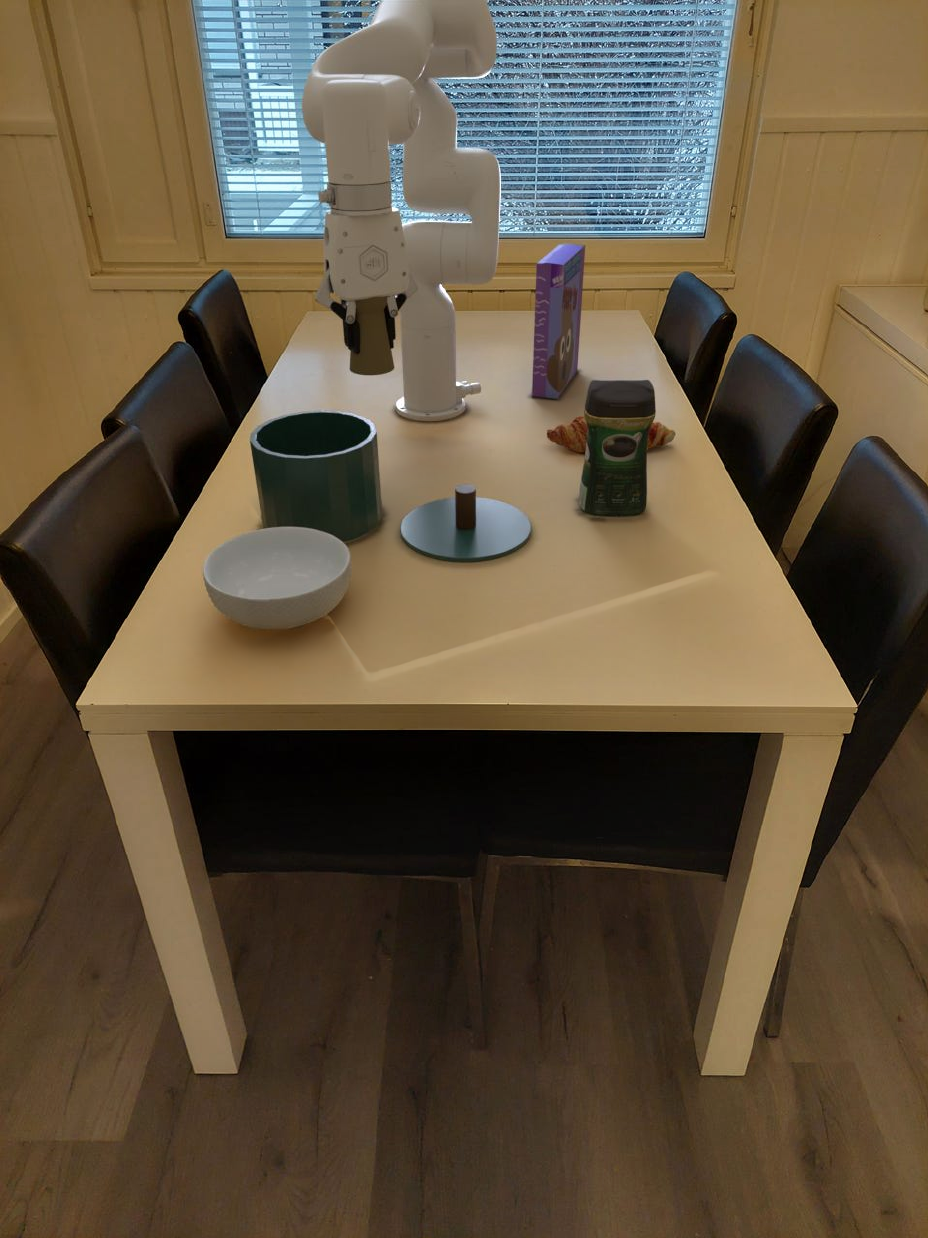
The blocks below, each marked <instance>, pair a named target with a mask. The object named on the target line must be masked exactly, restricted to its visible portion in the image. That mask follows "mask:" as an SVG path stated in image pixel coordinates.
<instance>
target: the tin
mask: <svg viewBox="0 0 928 1238" xmlns="http://www.w3.org/2000/svg"><path fill="white" fill-rule="evenodd" d="M249 443H250V450H251V456H252V463H253V470H254V476H255V484H256V489H257V494H258V497H257V498H258V502H259V509H260V515H261V522H262V526H263V529H265V528H274V527H302V528H310V529H315V530H319V531H322V532H325V533H328V534H331V535H333V536H335V537H336V538H338V539H339V540H341V541H342V542H343V543H344V542H348V541H353V540H355V539H358V538H360V537H361V536H364V535H366V534H369V532H371V531H372V530H374V529H375V528H376V527H377V526H378V525H379V524H380V521H381V520H382V517H383V505H382V489H381V488H382V487H381V475H380V460H379V444H378V432H377V427H376V424H374V423H373V422H372V421H371V420H370V419H368V418H367V417H364V416H362V415H359V414H356V413H353V412H347V411H341V410H323V409H321V410H319V409H318V410H309V411H308V410H307V411H297V412H294V413H287V414H284V415H283V414H282V415H281V416H277V417H273V418H271V419H268V420H266V421H265V422H262V423H261V424H259V425H257V426H256V427H255V428H254V430H252V431H251V433H250V437H249Z"/></svg>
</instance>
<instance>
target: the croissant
mask: <svg viewBox="0 0 928 1238" xmlns="http://www.w3.org/2000/svg"><path fill="white" fill-rule="evenodd" d="M676 435H677V433H676V431H675V430H674V429H670V428H669V427H667V426H666V425H665V424H663V423H662V422H660V421H656V422H653V423H652V425H651V426H650V429H649V433H648V442H647V450H649V449H652V448H654V447H655V446H657V447H658V446H659V447H662V446H664V445H667V444H670V443H671V442H673V441H674V439H675V437H676ZM546 438H547V439H548V440H549V441H550V442H551V443H554V444H556V445H559V446H562V447H564V448H566V449H567V450H570V451H573V452H577V453H586V444H587V423H586V420H585V417H584V415H580V416H576V417H575V418H574V419H573V420H572V421H571V423H569V424H568V423H561V424H559V425H557V426H556V427H554V428H553V429H551V428H549V429H547V430H546Z"/></svg>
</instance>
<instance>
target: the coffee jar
mask: <svg viewBox="0 0 928 1238" xmlns="http://www.w3.org/2000/svg"><path fill="white" fill-rule="evenodd" d="M655 392H656V391H655V387H654V385H653V383H652V382H651V381H650V380H649V379H641V380H639V379H637V380H635V379H634V380H633V379H631V380H626V379H621V380H617V379H616V380H612V379H611V380H602V379H601V380H600V379H599V380H598V379H592V380H590V382H589V384H588V386H587V392H586V397H585V401H584V402H585V403H584V406H583V416H584V417H585V420H586V423H587V444H586V453H585V452H584V453H585V454H584V459H583V466H582V472H581V477H580V484H579V492H578V506H579V508H580V510H581V511H582V512H584V513H585V514H587V515H589V516H594V517H595V516H596V517H609V518H610V517H613V518H617V517H618V518H619V517H620V518H621V517H637V516H639V515H641V514H642V513H644V512H645V510H646V509H647V503H648V502H647V501H648V473H647V472H648V469H647V466H648V465H647V464H648V463H647V462H648V449H647V442H648V433H649V429H650V426H651V425H652V423H654V421H655V418H656V414H657V409H656V394H655Z"/></svg>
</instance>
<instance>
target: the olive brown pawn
mask: <svg viewBox="0 0 928 1238" xmlns="http://www.w3.org/2000/svg"><path fill="white" fill-rule="evenodd" d="M355 305H356V313H355V318H356V322H357V323H359V327H360V353H359V354H355V353H353V351H352V350H351V351H350V350H349V351H350V353H349V371H350V372H351V373H353V374H355V375H359V376H380V375H381V376H382V375H386V374H389V373H391V372H393V371H394V370H395V363H394V356H393V352H392V349H390V344H389V339H388V333H387V326H386V318H385V313H384V308H385V307H386V305H387V296H384V297H372V298H368V299H361V300H355Z"/></svg>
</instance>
